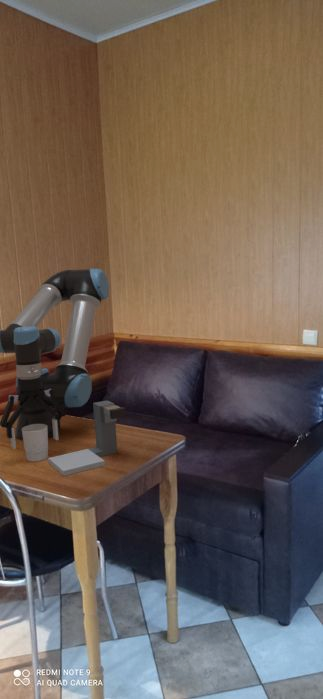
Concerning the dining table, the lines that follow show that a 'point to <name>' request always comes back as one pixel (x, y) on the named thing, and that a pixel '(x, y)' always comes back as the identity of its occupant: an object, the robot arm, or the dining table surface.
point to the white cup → (35, 442)
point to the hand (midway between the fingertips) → (35, 443)
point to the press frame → (91, 456)
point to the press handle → (112, 413)
